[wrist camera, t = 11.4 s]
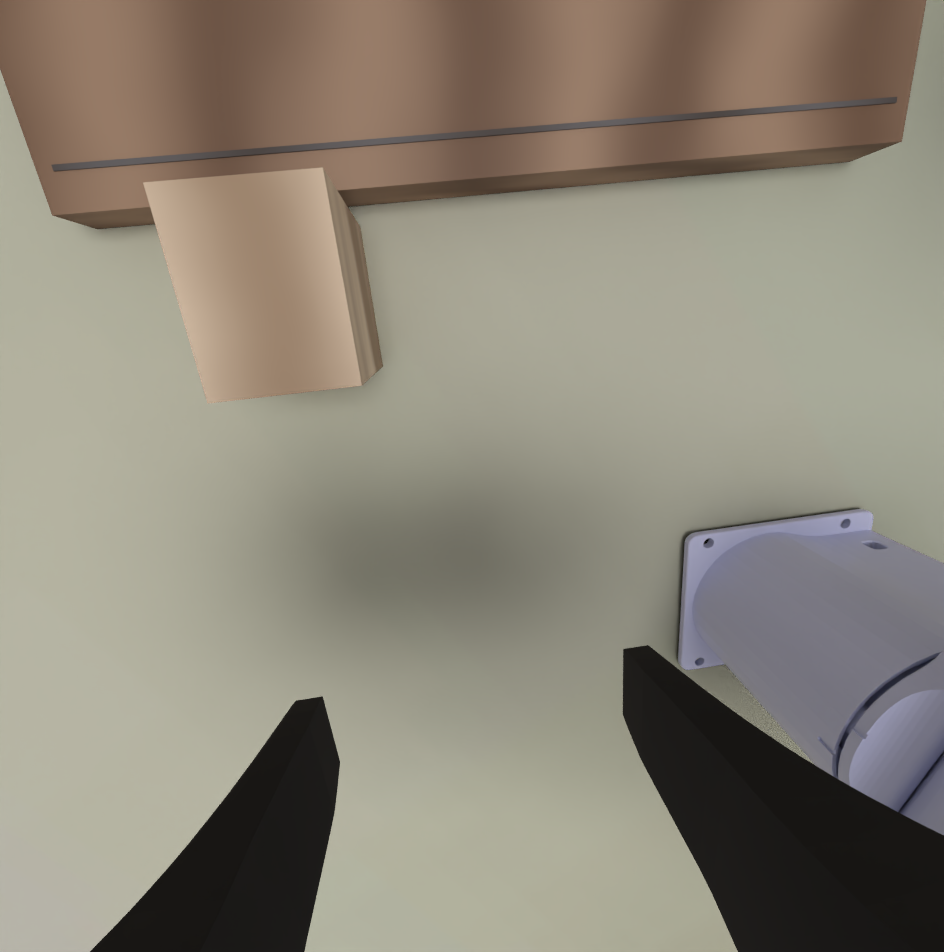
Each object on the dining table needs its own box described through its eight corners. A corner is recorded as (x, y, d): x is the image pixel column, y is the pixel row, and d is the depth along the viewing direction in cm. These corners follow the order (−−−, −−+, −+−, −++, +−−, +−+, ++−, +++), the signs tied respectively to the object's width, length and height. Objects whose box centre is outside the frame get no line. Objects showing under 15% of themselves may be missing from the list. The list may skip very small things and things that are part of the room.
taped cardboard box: (359, 219, 16) (320, 154, 10) (383, 366, 18) (362, 385, 12) (247, 229, 16) (139, 169, 10) (282, 377, 18) (207, 403, 12)
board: (884, -80, 15) (952, -141, 13) (849, 161, 17) (903, 140, 15) (10, -34, 13) (-60, -95, 11) (97, 228, 16) (50, 214, 14)
